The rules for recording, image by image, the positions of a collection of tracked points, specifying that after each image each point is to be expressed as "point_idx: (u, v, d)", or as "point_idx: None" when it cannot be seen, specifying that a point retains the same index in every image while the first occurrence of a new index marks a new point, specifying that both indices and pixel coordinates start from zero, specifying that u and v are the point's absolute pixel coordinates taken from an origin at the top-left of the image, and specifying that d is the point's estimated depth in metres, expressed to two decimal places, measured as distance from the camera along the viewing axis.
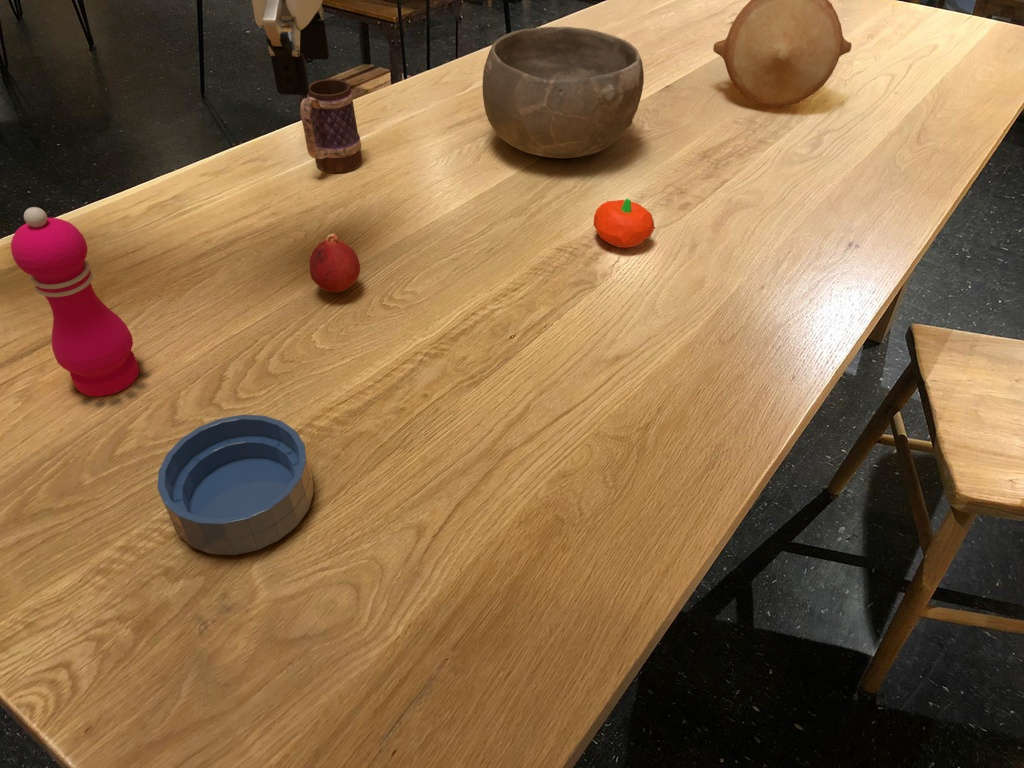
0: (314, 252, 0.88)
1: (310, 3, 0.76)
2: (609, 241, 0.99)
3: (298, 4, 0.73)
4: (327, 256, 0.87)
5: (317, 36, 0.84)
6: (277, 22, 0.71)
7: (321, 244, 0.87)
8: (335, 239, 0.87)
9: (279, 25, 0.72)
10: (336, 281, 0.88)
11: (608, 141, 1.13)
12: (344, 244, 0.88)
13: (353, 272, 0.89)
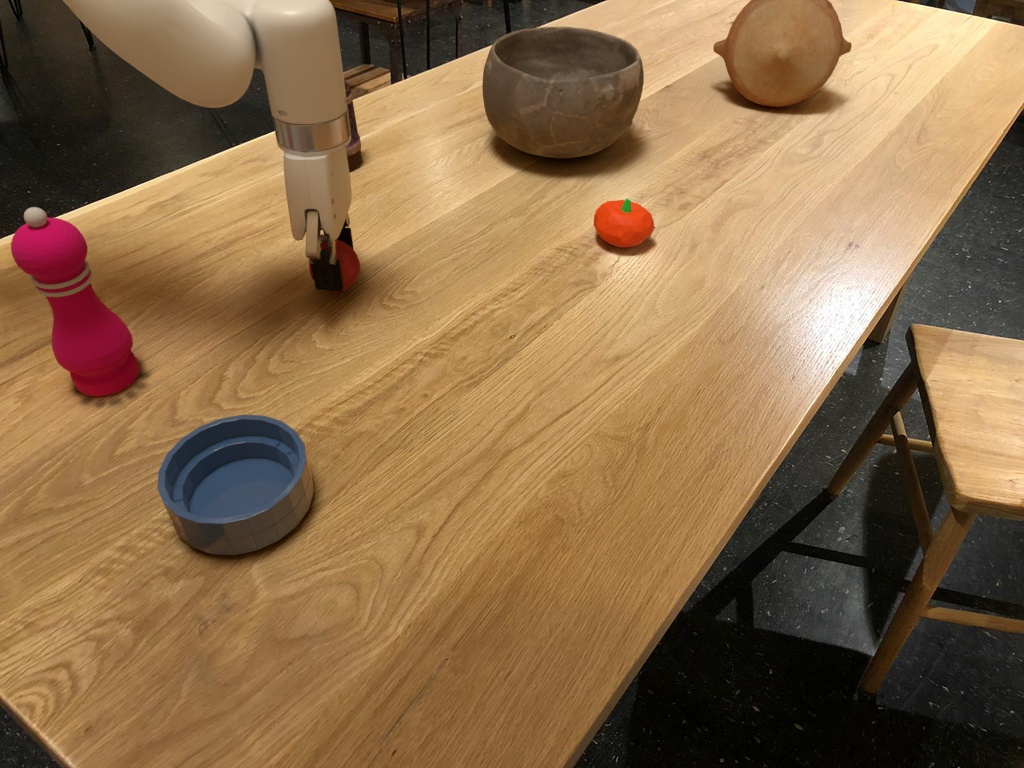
0: None
1: (342, 216, 0.83)
2: (609, 241, 0.99)
3: (332, 224, 0.80)
4: None
5: (344, 241, 0.91)
6: (318, 251, 0.80)
7: (321, 244, 0.87)
8: None
9: (319, 250, 0.81)
10: None
11: (608, 141, 1.13)
12: (344, 244, 0.88)
13: (353, 272, 0.89)
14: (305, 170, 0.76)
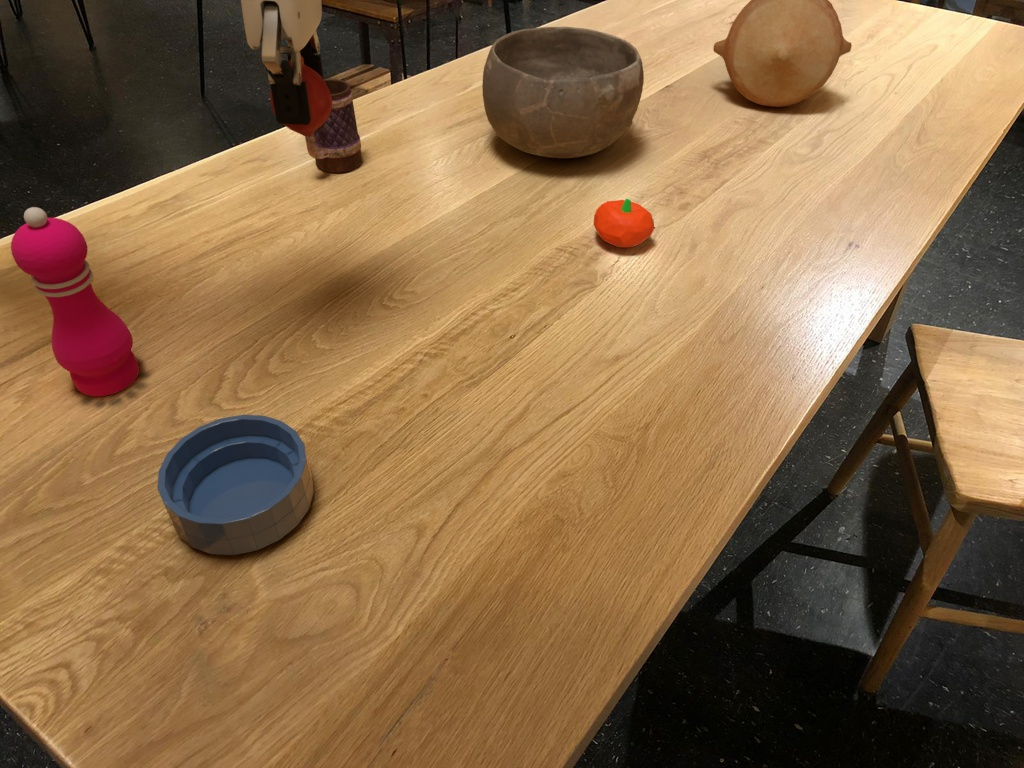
0: None
1: (308, 22, 0.68)
2: (609, 241, 0.99)
3: (295, 24, 0.66)
4: None
5: None
6: (277, 57, 0.66)
7: None
8: (301, 61, 0.72)
9: (279, 57, 0.66)
10: None
11: (608, 141, 1.13)
12: (312, 70, 0.74)
13: (322, 105, 0.74)
14: None
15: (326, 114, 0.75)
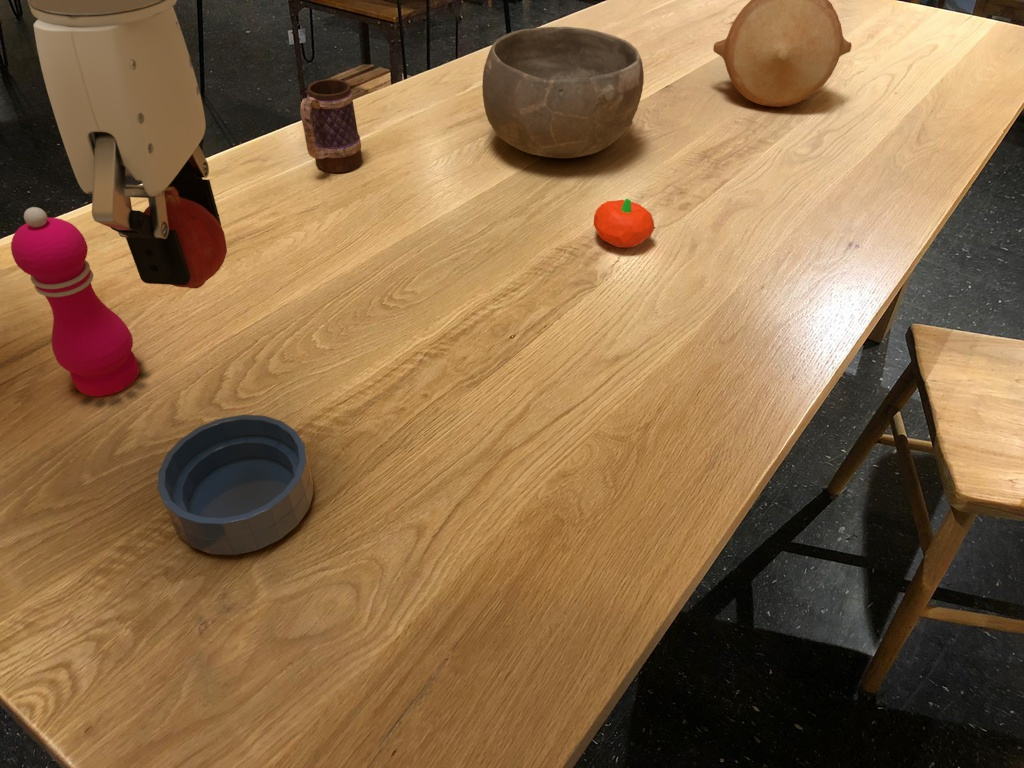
0: None
1: (172, 151, 0.47)
2: (609, 241, 0.99)
3: (144, 162, 0.44)
4: None
5: (199, 202, 0.54)
6: (118, 211, 0.44)
7: None
8: (175, 196, 0.51)
9: (123, 211, 0.44)
10: None
11: (608, 141, 1.13)
12: (194, 205, 0.52)
13: (209, 254, 0.52)
14: (75, 53, 0.40)
15: (217, 264, 0.53)
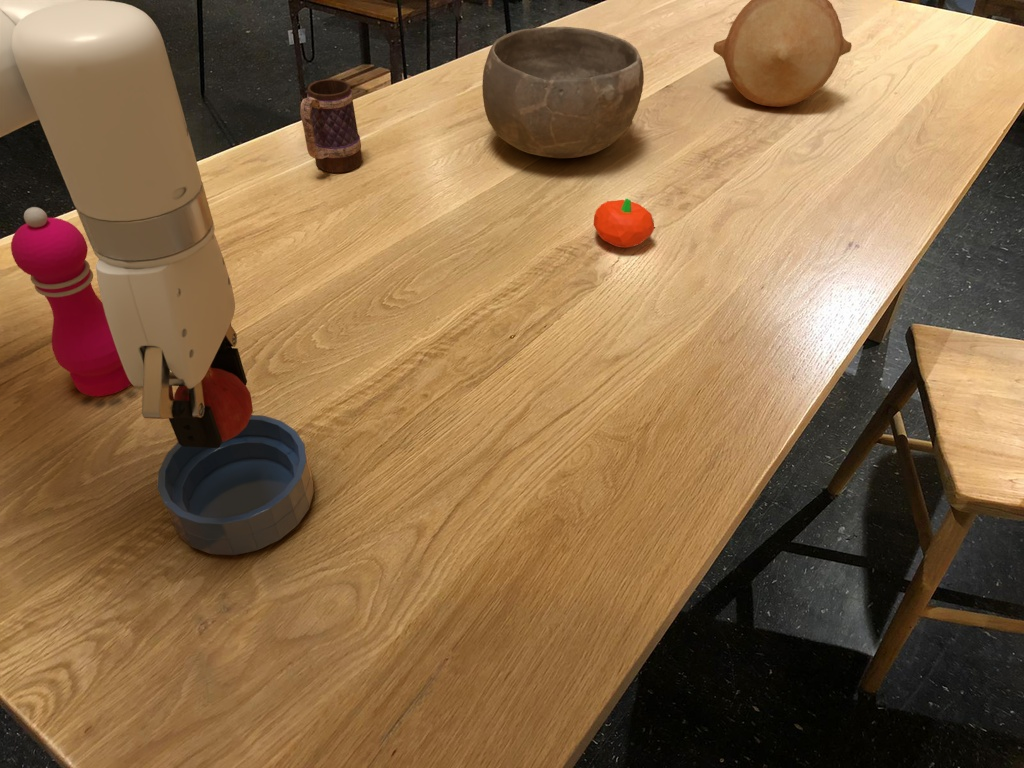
0: (178, 389, 0.59)
1: (208, 346, 0.54)
2: (609, 241, 0.99)
3: (186, 366, 0.51)
4: None
5: (228, 367, 0.62)
6: (164, 409, 0.51)
7: None
8: (209, 372, 0.58)
9: (167, 406, 0.52)
10: None
11: (608, 141, 1.13)
12: (225, 377, 0.59)
13: (238, 418, 0.59)
14: (131, 290, 0.47)
15: (244, 424, 0.61)
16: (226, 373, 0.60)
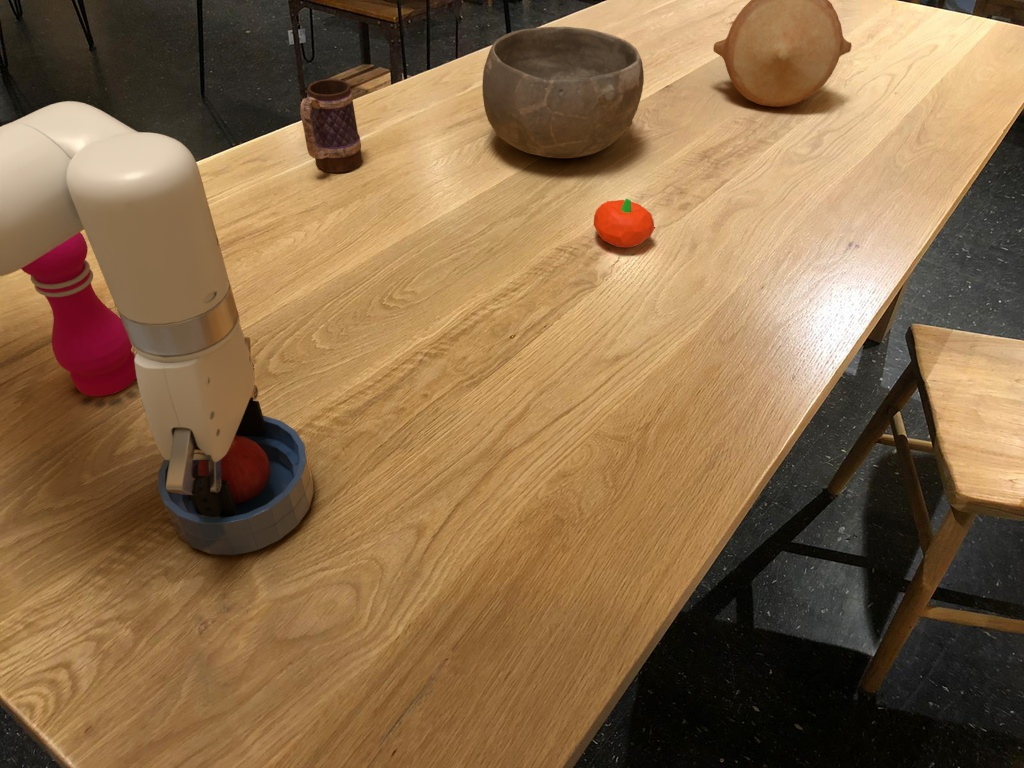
0: None
1: (232, 422, 0.59)
2: (609, 241, 0.99)
3: (213, 443, 0.57)
4: None
5: (250, 417, 0.67)
6: (186, 483, 0.55)
7: None
8: None
9: (189, 481, 0.56)
10: (234, 497, 0.64)
11: (608, 141, 1.13)
12: (245, 445, 0.65)
13: (257, 483, 0.65)
14: (166, 382, 0.53)
15: (263, 487, 0.66)
16: (246, 441, 0.65)
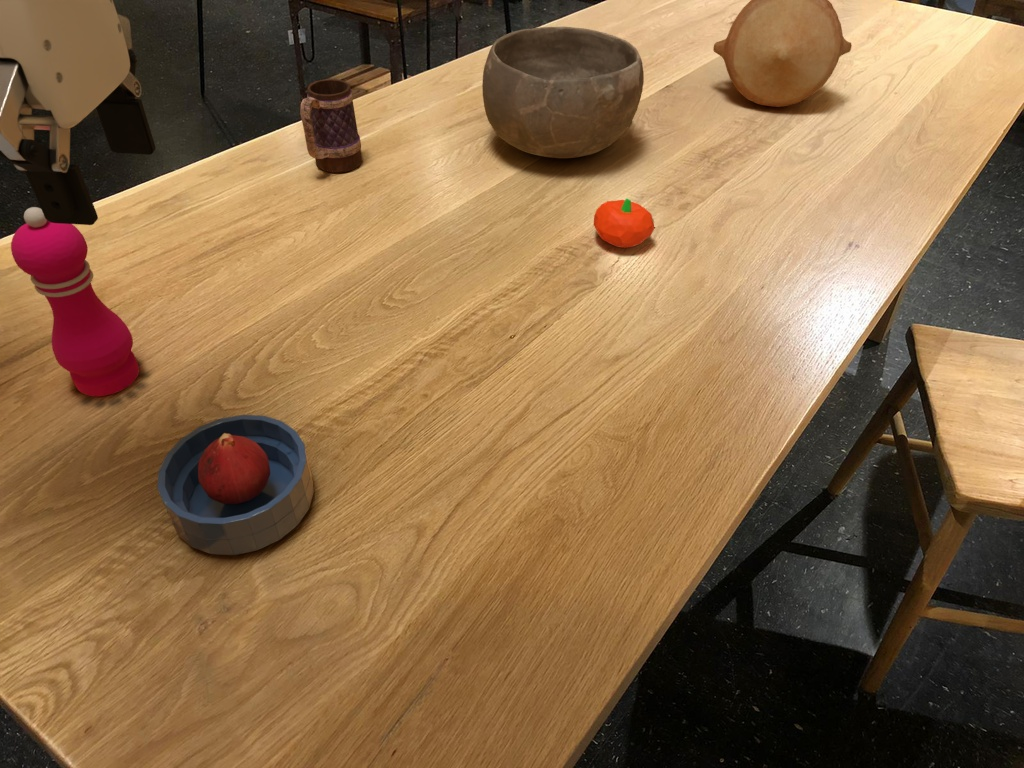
0: (203, 456, 0.64)
1: (87, 84, 0.47)
2: (609, 241, 0.99)
3: (53, 91, 0.44)
4: (220, 466, 0.63)
5: (131, 122, 0.55)
6: (7, 126, 0.42)
7: (212, 447, 0.64)
8: (231, 442, 0.63)
9: (13, 129, 0.43)
10: (234, 497, 0.64)
11: (608, 141, 1.13)
12: (245, 445, 0.65)
13: (257, 483, 0.65)
14: None
15: (263, 487, 0.66)
16: (246, 441, 0.65)
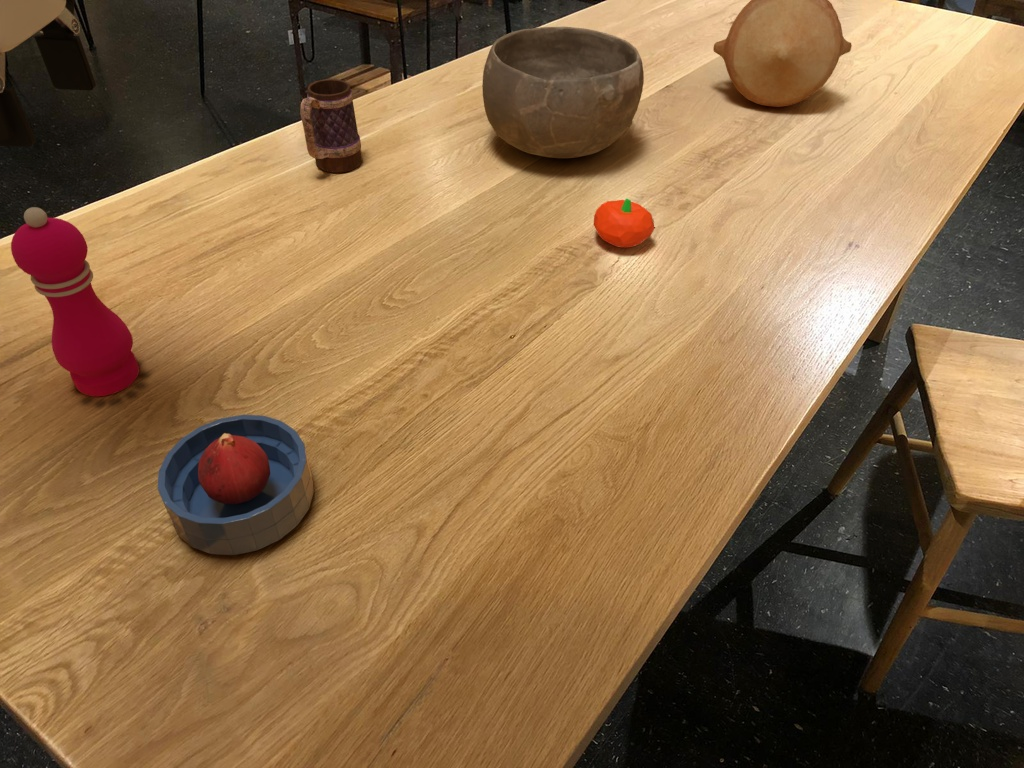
0: (203, 456, 0.64)
1: (20, 12, 0.50)
2: (609, 241, 0.99)
3: None
4: (220, 466, 0.63)
5: (70, 58, 0.59)
6: None
7: (212, 447, 0.64)
8: (231, 442, 0.63)
9: None
10: (234, 497, 0.64)
11: (608, 141, 1.13)
12: (245, 445, 0.65)
13: (257, 483, 0.65)
14: None
15: (263, 487, 0.66)
16: (246, 441, 0.65)
